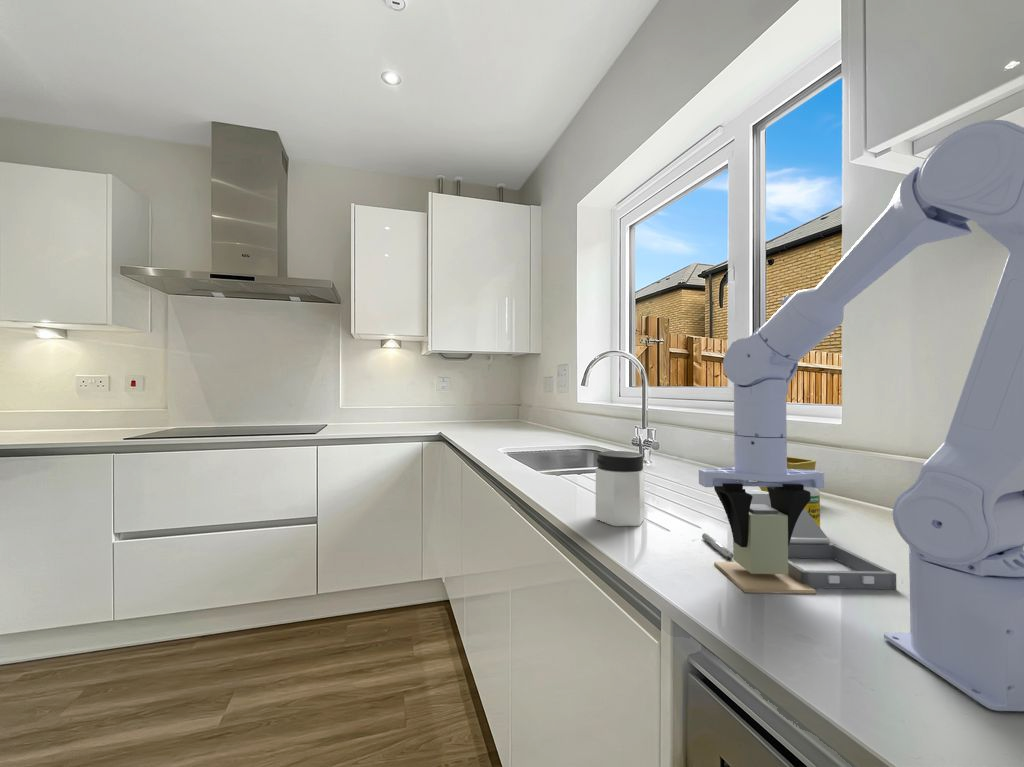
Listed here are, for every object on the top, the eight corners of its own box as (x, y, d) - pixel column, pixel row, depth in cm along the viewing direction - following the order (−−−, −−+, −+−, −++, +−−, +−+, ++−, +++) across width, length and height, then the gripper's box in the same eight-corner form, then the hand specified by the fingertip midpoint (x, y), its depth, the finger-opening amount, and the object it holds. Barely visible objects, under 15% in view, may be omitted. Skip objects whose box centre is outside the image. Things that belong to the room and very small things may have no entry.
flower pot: (817, 502, 91) (817, 460, 91) (795, 507, 87) (795, 463, 87) (775, 493, 99) (774, 454, 99) (752, 498, 94) (752, 457, 94)
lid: (830, 557, 60) (829, 507, 60) (765, 556, 60) (764, 506, 61) (792, 537, 69) (792, 493, 69) (735, 536, 69) (735, 493, 69)
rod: (733, 559, 59) (733, 552, 59) (726, 559, 59) (726, 552, 59) (708, 539, 67) (708, 533, 67) (702, 539, 67) (701, 533, 67)
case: (898, 590, 50) (898, 574, 50) (805, 588, 50) (804, 573, 51) (834, 556, 61) (834, 543, 61) (757, 555, 61) (757, 542, 61)
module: (788, 574, 51) (787, 512, 52) (751, 573, 52) (750, 511, 52) (767, 560, 56) (766, 503, 56) (733, 559, 56) (732, 502, 56)
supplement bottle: (790, 524, 76) (790, 469, 76) (826, 532, 71) (825, 474, 71) (775, 529, 73) (775, 472, 73) (811, 538, 68) (811, 478, 68)
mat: (815, 593, 49) (815, 590, 49) (745, 592, 50) (745, 589, 50) (774, 565, 57) (774, 562, 57) (714, 564, 57) (714, 561, 57)
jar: (604, 511, 84) (604, 449, 84) (647, 516, 80) (647, 452, 80) (590, 523, 76) (590, 455, 76) (637, 530, 72) (637, 458, 72)
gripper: (797, 433, 58) (798, 534, 57) (689, 432, 58) (689, 533, 58) (836, 438, 51) (837, 554, 50) (712, 437, 51) (712, 552, 51)
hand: (760, 544), depth 53 cm, fingers closed on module, 4 cm apart
